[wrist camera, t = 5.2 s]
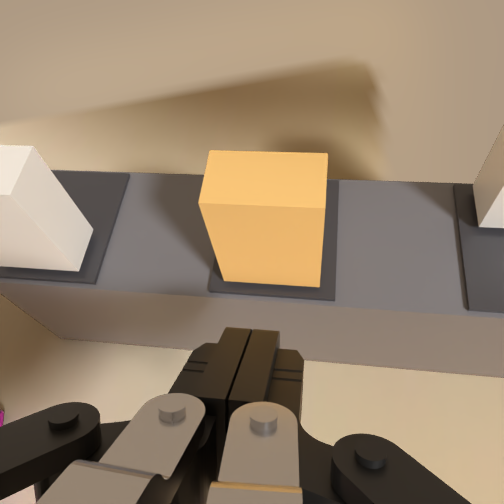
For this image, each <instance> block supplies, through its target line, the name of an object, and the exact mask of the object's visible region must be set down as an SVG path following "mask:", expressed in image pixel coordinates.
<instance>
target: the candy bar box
mask: <svg viewBox="0 0 504 504" xmlns="http://www.w3.org/2000/svg"><path fill="white" fill-rule="evenodd" d="M3 418H4V411H2V410H0V427H1V426H2V425H3Z"/></svg>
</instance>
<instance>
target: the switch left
mask: <svg viewBox="0 0 504 504" xmlns="http://www.w3.org/2000/svg"><path fill="white" fill-rule="evenodd" d="M92 232H93V228H92V227H91V225H90V224H89V223H88V221H87V220H86V218H85V217H84V216H83V214H82V213H81V211H80V210H79V209H78V207H77V206H76V205H75V203H74V202H73V200H72V199H71V198H70V196H69V195H68V193H67V192H66V191H65V189H64V188H63V187H62V185H61V184H60V182H59V181H58V180H57V178H56V177H55V175H54V174H53V173H52V171H51V170H50V169H49V167H48V166H47V164H46V163H45V162H44V160H43V159H42V157H41V156H40V155H39V153H38V152H37V151H36V149H35V148H34V146H19V145H0V266H5V267H20V268H35V269H50V270H65V271H79V270H80V267H81V264H82V261H83V258H84V255H85V252H86V249H87V246H88V244H89V241H90V238H91V235H92Z"/></svg>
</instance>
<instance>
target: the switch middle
mask: <svg viewBox="0 0 504 504" xmlns="http://www.w3.org/2000/svg"><path fill="white" fill-rule="evenodd" d="M327 166H328V153H299V152H259V151H219V150H210V151H209V156H208V161H207V165H206V170H205V174H204V179H203V183H202V188H201V193H200V197H199V202H198V204H199V207H200V210H201V213H202V216H203V219H204V222H205V225H206V228H207V231H208V234H209V237H210V240H211V243H212V246H213V249H214V252H215V255H216V258H217V261H218V264H219V267H220V270H221V273H222V276H223V279H224V281H231V282H246V283H261V284H277V285H292V286H307V287H320V275H321V261H322V247H323V234H324V220H325V206H326V186H327Z"/></svg>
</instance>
